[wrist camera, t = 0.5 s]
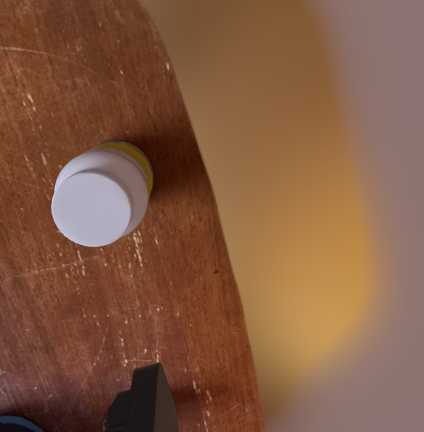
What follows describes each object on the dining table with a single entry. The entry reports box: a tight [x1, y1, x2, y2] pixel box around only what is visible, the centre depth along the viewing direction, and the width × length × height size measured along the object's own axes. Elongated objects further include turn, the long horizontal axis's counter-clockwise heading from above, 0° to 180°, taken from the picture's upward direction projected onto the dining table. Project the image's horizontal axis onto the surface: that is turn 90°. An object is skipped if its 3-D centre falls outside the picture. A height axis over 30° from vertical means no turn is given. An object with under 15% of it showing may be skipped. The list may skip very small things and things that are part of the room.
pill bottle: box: [52, 141, 153, 247], centre depth 26 cm, size 6×6×11 cm
